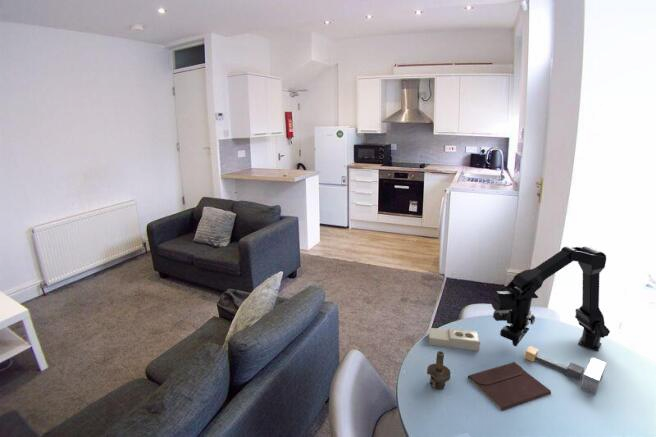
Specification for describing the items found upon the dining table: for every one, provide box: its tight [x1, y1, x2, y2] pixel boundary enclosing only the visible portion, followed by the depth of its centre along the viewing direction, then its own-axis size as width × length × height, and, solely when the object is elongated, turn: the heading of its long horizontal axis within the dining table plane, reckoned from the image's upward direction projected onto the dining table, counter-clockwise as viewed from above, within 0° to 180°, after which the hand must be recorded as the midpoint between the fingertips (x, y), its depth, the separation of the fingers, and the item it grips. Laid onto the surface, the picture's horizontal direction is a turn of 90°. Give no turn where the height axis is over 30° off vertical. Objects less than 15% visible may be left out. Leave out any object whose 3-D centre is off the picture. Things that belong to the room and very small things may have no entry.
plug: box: [524, 346, 585, 382], centre depth 129 cm, size 4×17×3 cm, turn 46°
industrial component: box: [426, 350, 451, 390], centre depth 119 cm, size 9×7×12 cm
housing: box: [580, 356, 607, 396], centre depth 121 cm, size 12×4×6 cm, turn 136°
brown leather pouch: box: [467, 361, 552, 412], centre depth 120 cm, size 15×20×2 cm
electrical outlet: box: [428, 327, 481, 352], centre depth 143 cm, size 7×4×18 cm
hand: (514, 345), depth 138 cm, fingers closed
